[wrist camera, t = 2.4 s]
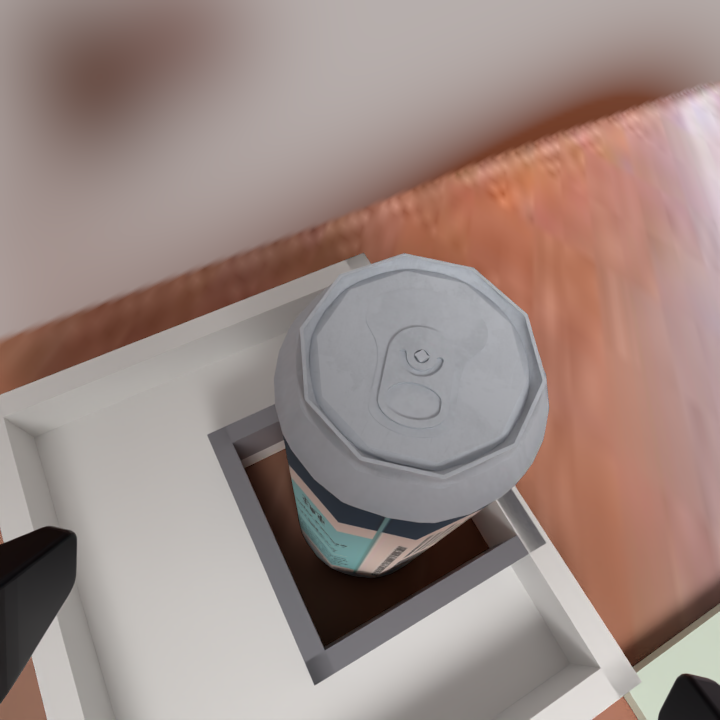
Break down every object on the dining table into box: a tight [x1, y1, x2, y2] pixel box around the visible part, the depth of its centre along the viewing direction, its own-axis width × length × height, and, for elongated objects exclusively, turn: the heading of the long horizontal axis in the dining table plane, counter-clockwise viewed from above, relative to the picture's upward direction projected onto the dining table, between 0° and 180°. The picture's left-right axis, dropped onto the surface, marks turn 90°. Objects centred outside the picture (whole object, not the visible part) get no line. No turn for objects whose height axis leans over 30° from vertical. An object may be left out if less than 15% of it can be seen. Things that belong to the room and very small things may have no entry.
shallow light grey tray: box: [0, 253, 642, 720], centre depth 17 cm, size 16×14×3 cm
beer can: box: [274, 253, 549, 578], centre depth 14 cm, size 5×5×12 cm
